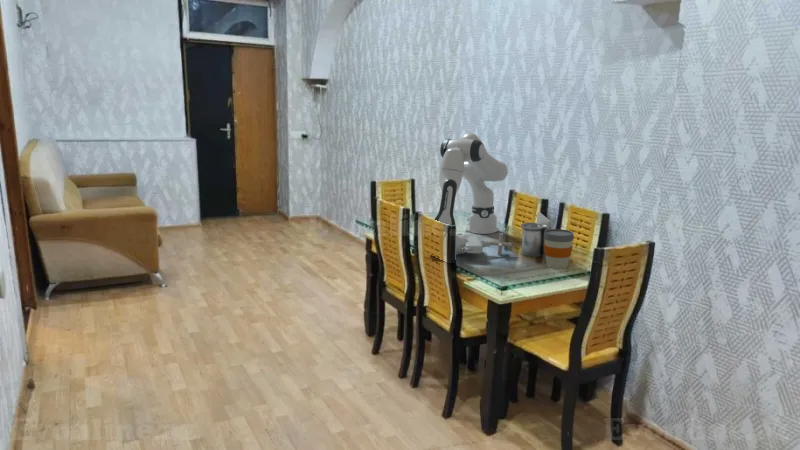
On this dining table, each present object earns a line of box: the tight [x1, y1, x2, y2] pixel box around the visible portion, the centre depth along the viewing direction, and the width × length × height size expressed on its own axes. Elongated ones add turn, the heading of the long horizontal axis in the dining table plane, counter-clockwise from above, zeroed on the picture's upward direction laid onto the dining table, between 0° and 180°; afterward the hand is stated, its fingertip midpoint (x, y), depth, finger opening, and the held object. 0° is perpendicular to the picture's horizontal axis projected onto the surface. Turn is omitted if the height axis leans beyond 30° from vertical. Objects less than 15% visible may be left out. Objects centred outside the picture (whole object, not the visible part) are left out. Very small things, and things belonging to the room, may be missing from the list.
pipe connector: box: [489, 232, 512, 256], centre depth 260 cm, size 10×10×10 cm
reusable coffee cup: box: [544, 228, 575, 270], centre depth 242 cm, size 12×13×15 cm
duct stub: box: [520, 211, 552, 260], centre depth 260 cm, size 20×11×18 cm, turn 1°
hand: (489, 243), depth 260 cm, fingers closed, pressing on pipe connector
